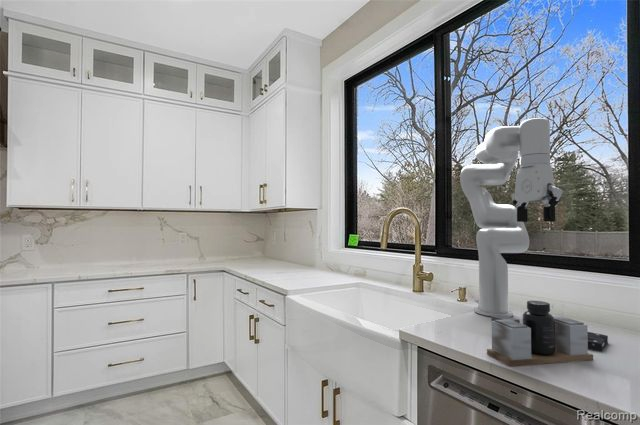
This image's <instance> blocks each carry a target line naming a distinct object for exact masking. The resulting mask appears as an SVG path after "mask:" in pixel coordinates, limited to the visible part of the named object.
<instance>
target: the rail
mask: <svg viewBox="0 0 640 425" xmlns="http://www.w3.org/2000/svg"><path fill="white" fill-rule="evenodd" d="M553 317H554V319H555V353H554V354H553V355H551V356H540V355H535V354H532V353H531V328H529V327H527V326H526V325H523V323H520V322H519V323H518V322H515V321H512V320H510V319H503V320H495V321H492V320H491V348H487V349H486V354H487V355H488V356H490V357H492V358H494V359H495V360H498V361H499V362H501V363H502V364H505V365H506V366H509V367H519V366H521V367H522V366H534V365H546V364H557V363H569V362H571V363H572V362H582V361H593V360H594V354H592V353H589V352H588V351H589V349H588V332H589V331H588V324H586V323H585V322H583V321H578V320H576V319H572V318H569V317H565V316H553Z"/></svg>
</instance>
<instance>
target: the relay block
mask: <svg viewBox="0 0 640 425" xmlns="http://www.w3.org/2000/svg"><path fill="white" fill-rule="evenodd" d="M503 319H510V320H512V321H515V322H518V323H520V319H519V318H515V317H512V316H511V317H507V316H502V315H496V316H491V322H492V321H495V320H503Z"/></svg>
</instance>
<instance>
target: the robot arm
mask: <svg viewBox="0 0 640 425" xmlns="http://www.w3.org/2000/svg"><path fill="white" fill-rule="evenodd" d="M474 152H475V157H476V159H477V161H479V162H481V163H482V164H481V163H479V164H469V165H466V166H464V167H463V168H462V169H461V171H460V176H459V180H460V187H461V189H462V192H463V193H464V196H465V197H466V198H467V200H468V202H469V206H470V208H471V211H472V215H473V216H472V217H473V219H474V222H475V224H476V225H477V227H478V228H480V229H479V230H478V231H476V236H475V238H476V239H475V241H476V246H477V253H478V254H477V255H478V284H479V285H478V289H479V290H478V298H475V299H474V302H475V303H476V304H477V306H475V307H474V312H475V313H477V314H478V315H481V316H485V317H486V316H487V317H492V316H496V315H502V316H507V317H511V318H512V317H513V316H514V312H513V311H512V310H510V309H509V267H508V263H507V261H506V259H505V258H504V257H503V256H502V254H522V253H524V252H526V251H527V250H528V249H529V246H530V237H529V233H528V230H527V228H526V225H525V223H526V222H528V218H529V217H528V216H529V215H528V208H527V206H528V204H529V203H535V202H542V203H543V204H544V206H543V222H545V223H546V222H549V223H550V222H553V223H554V222H556V207H558V203H559V202H560V201H561V197H562V195H563V193H564V190H563V189H561V188H559V187H557V186H556V185H555V176H554V170H553V167H552V165H551V124H550V121H549V120H548V119H547V118H545V117H544V118H543V117H535V118H534V117H533V118H530V119H529V118H528V119H526V120H523V121H522V122H521V123H520V125H510V126H509V125H508V126H507V125H505V126H498V127H494V128H493V129H490V130H489V131H488V132H487V133H486V135H485V137H484V141H483V142H482V143H480V144H479V145H478V146H477V148H476V149H475V151H474ZM518 156H519V163H518V165H519V168H517V172H516V177H515V178H516V179H515V186H514V187H515V188H514V189H515V190H514V192H513V193H511V196H510V198H511V199H512V203H513V205H512V204H498V203H495V202H494V200H493V197H492V195H491V193H490V192H489V191H488V190H487V189H486V188H484V187H482V186H502V185H504V184H506V182H507V181H508V179H509V177H510V175H511V174H512V171H513V169H514V166H516V162H517V159H518Z"/></svg>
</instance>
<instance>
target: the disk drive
mask: <svg viewBox="0 0 640 425" xmlns="http://www.w3.org/2000/svg"><path fill="white" fill-rule="evenodd" d="M608 342H609V338H608V335H606V334H601V333H595V332H591V331H588V350H590V351H596V352H600V353H601V352H603V351H604V349H605V348H606V346H607V345H608Z"/></svg>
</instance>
